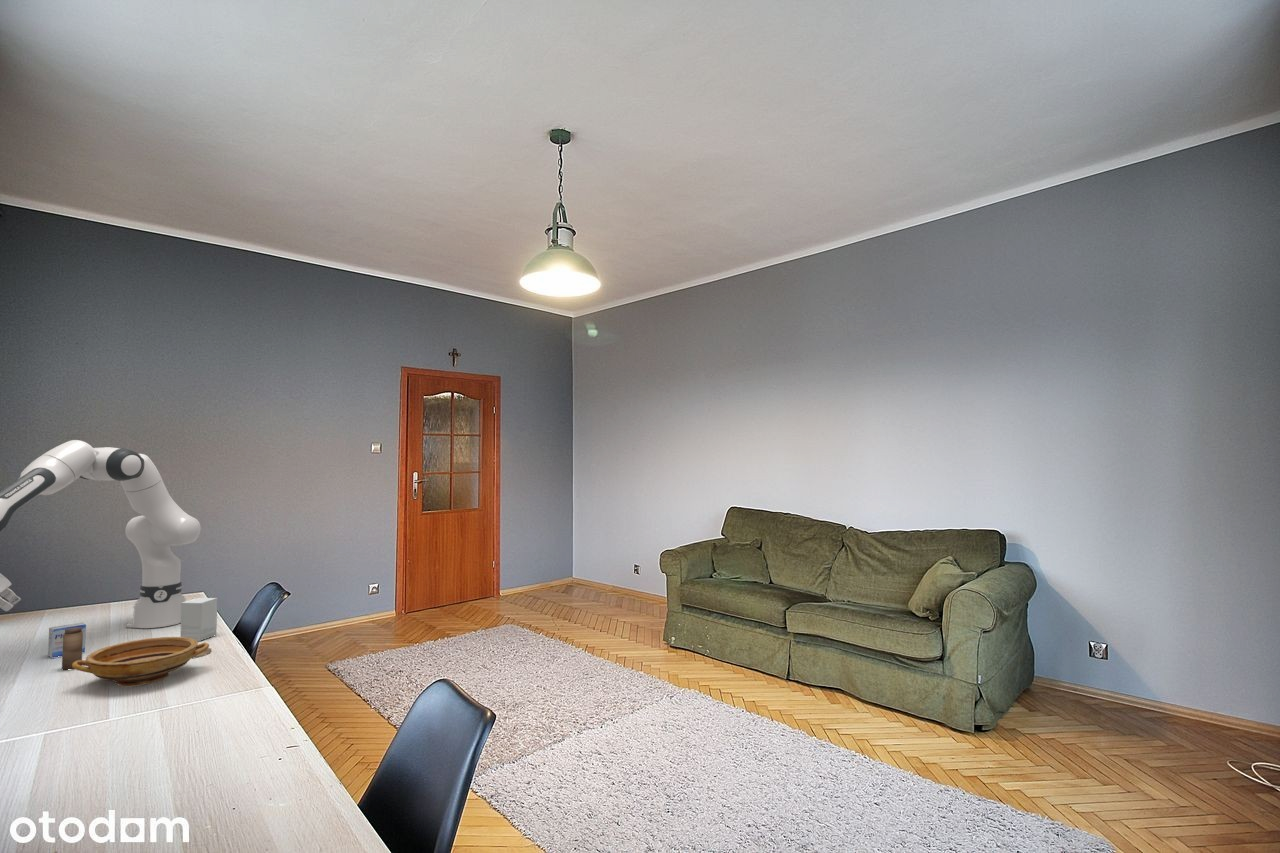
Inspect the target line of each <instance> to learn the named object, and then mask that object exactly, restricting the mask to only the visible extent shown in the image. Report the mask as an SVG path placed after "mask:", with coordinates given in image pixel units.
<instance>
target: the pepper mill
mask: <svg viewBox="0 0 1280 853" xmlns="http://www.w3.org/2000/svg"><path fill="white" fill-rule="evenodd" d="M82 644H83V631H82V627H74V628H69V629H66V630H65V633H64V634H63V655H62V657H61V658H62V660H61V670H62V669H63V670H62V671H69V670H68V669H73V670H75V669H74V668H73V667H72V664H73V663H74V662H75V661H78V660H83V653H82ZM81 666H83V665H81Z"/></svg>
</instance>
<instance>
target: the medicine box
mask: <svg viewBox="0 0 1280 853" xmlns="http://www.w3.org/2000/svg"><path fill="white" fill-rule="evenodd" d="M74 627H82V631H83V644H82V652H84V653H85V652H86V636H87V630H86V629H87V624H85V623H84V622H78V623H72V624H71V623H70V624H64V625H58V626H52V627H49V628H48V644H47V645H48V646H47V647H48V648H47V656H48V655H49V656H50V657H49V656H48V657H49V658H51V659H52V657H58V656H62V655H63V634H64V633H65V630H66V629H69V628H74ZM58 658H59V657H58Z"/></svg>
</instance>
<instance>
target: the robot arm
mask: <svg viewBox="0 0 1280 853" xmlns="http://www.w3.org/2000/svg"><path fill="white" fill-rule="evenodd" d="M79 478H81V479H84V480H93V481H98V482H99V481H100V482H107V481H109V482H110V481H111V482H112V481H119V482H120V485H121V487H122V489H123V491H124V494H125V496H126V498H127V500H128V502H129V504H130V507H131V508H132V510H134V512H136V513H138V514H140V515H139V516H135V517H132V518H131V519H130V520H129V521H128V522H127V524H126V526H125V530H124V531H125V532H124V533H125V537H126V538H127V540H128V541H130V542H131V543H132V544H133V545H134V547H135V548H136V550H137V552H138V554H139V557H140V561H141V567H142V568H141V569H142V572H141V573H142V576H141V582H142V583H141V585H140V589H139V599H137V600H136V601H135V602H134V605H133V614H132V616H133V617H132V619H131V620H130V621H129V622H128V623H126V624H125V625H126V628H128V629H129V628H136V629H156V628H163V627H170V626H175V625H178V624H181V603H182V602H185V601H187V598H186V597H185V596H184V595H183V594H182V588H183V585H182V584H183V583H182V582H181V568H182V562H181V559H180V558H179V557H178V556H176V554H174V552H173V551H172V549H171V546H173V547H174V546H175V547H177V546H178V547H179V546H184V545H188V544H192V543H194V542H196V541H197V539H199V537H200V534H201V531H202V527H201V523H200V521H199V520H198V519H197V518H196V517H194V516H191V515H190V514H188V513H187V512H186V511H184V510H183V509H182V508H181V507H180V506H179V505H178V504H177V502H175V500H174V499H173V498H172V497H171V495H170V493H169V491H168V488H167V487H166V484H165V483H164V480H163V478H162V475H161V474H160V472H159V470H158V468H157V467H156V465H155V464H154V462H153V461H152V460H151V458H150V456H148V455H146V454H144V453H138V452H136V451H135V450H133V449H130V448H125V447H123V448H119V447H112V446H111V447H110V446H109V447H108V446H105V447H93V446H92V445H91V444H90V443H88V442H86V441H83V440H78V439H72V440H68V441H66V442H63V443H62V444H59V445H57V446H55V447H53V448H52V449H50V450H48V451H45V452H44V453H43V454H42V455H40V456H39V457H37V458H35V459H34V460H33V461H32V462H30V464H28V465H27V466H26V467H25V468H24V469H23V470H22V471H21V472H20V476H19V477H18V478H17V479H16V480H15V481H13V482H12V483H10V484H9V485H7V486H6V487H4V488H3V489H0V532H1V531H3V530H4V529H5V528H6V527H7V525H8V524H9V522H10V520H11V518H12V516H13V514H14V513H16V512H17V510H20V508H22V507H23V506H25V505H26V504H28V503H29V502H30V501H31V500H33V499H34V498H36V497H38V496H39V495H41V496H50V495H53V494H56V493H57V492H59V491H62V490H63V489H64V488H67V487H68V486H69V485H70V484H72V483H74V482H75V481H76V480H78V479H79ZM11 586H12V582H11V581H10V580H9V579H8V577H6V576H4V575H3V574H2V573H1V572H0V609H2V610H3V611H4V612H8V611H10V610H11V609H12V608H13V607H14V605H17V604H18V603H19V602H20V601H21V600H22V599H21V597H20V596H18V595H16V592H14V591H13V590H12V589H11V588H10V587H11ZM2 597H3V598H5V599H6V600H5V599H3V598H2Z"/></svg>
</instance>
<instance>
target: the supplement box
mask: <svg viewBox="0 0 1280 853" xmlns="http://www.w3.org/2000/svg"><path fill="white" fill-rule="evenodd" d="M217 623H218V597H195V598H193V599H189V600H186V601H185V602H182V603H181V623H180V636H179V637H186V638H192V639H195V640H197V642H202V641H201V640H203V639H205V640H207V639H206V638H208V639H210V638H209V637H211V638H213V637H212V636H214V635H216V636H217V631H218V630H217V626H218V624H217ZM214 637H215V636H214ZM203 641H204V640H203Z"/></svg>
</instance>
